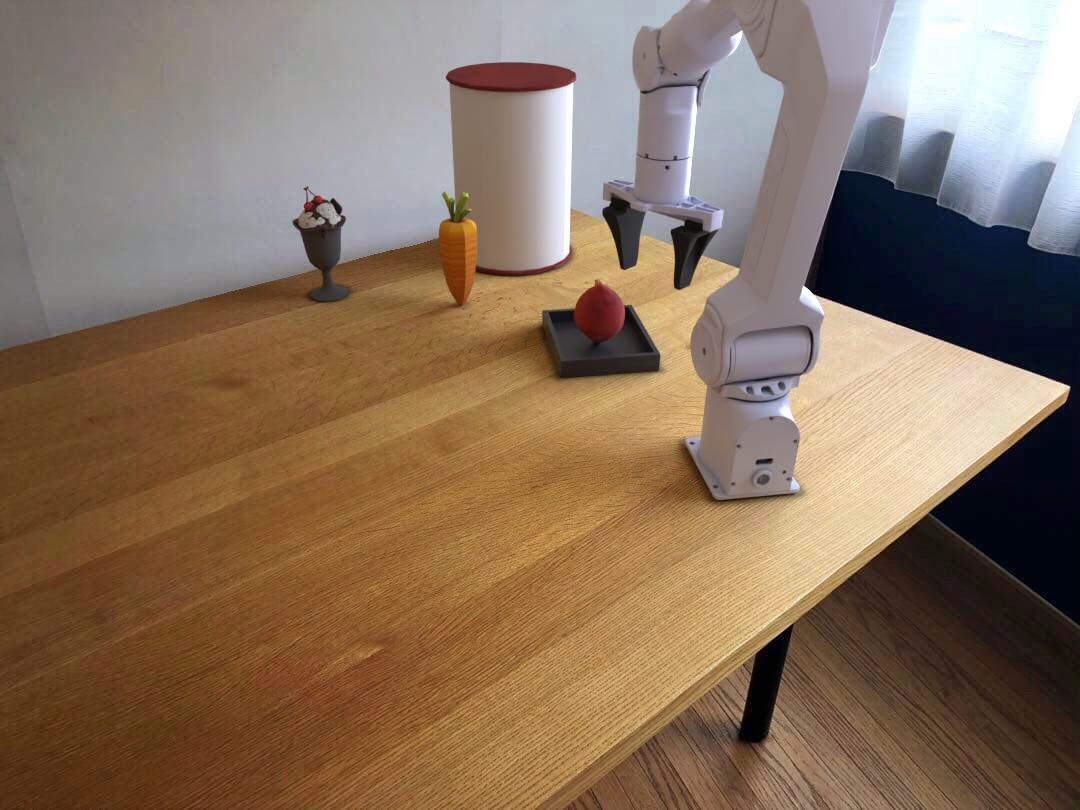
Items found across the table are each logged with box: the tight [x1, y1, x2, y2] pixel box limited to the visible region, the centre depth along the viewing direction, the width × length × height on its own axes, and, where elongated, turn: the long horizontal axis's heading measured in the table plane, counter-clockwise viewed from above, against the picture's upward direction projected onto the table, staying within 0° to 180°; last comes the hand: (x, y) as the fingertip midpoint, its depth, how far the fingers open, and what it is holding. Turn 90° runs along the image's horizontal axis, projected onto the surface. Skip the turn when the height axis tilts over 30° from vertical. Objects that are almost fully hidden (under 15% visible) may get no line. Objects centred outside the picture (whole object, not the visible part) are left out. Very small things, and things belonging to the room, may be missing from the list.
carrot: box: [438, 191, 477, 307], centre depth 107 cm, size 5×5×15 cm
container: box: [445, 61, 577, 277], centre depth 120 cm, size 17×17×25 cm
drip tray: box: [541, 304, 661, 379], centre depth 101 cm, size 13×11×2 cm
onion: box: [574, 278, 625, 344], centre depth 99 cm, size 6×6×8 cm
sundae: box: [291, 185, 349, 303], centre depth 110 cm, size 7×7×15 cm
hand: (654, 276), depth 95 cm, fingers open, 7 cm apart
